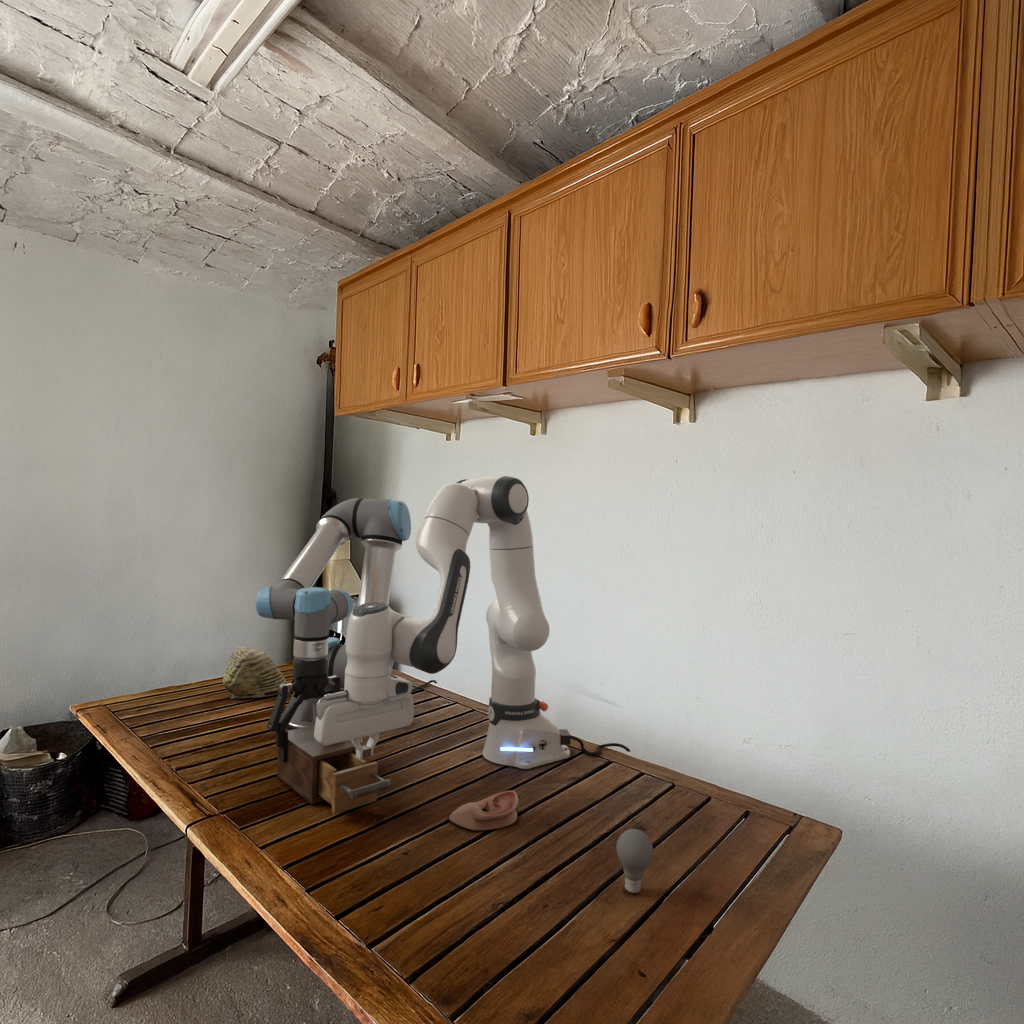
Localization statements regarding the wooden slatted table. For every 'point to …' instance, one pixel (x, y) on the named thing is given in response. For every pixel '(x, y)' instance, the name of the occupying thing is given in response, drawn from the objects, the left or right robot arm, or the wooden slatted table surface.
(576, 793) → the wooden slatted table surface
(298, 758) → the cabinet
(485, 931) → the wooden slatted table surface
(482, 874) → the wooden slatted table surface
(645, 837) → the light bulb
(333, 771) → the drawer
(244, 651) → the fossil
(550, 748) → the right robot arm
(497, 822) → the anatomical model
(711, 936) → the wooden slatted table surface
